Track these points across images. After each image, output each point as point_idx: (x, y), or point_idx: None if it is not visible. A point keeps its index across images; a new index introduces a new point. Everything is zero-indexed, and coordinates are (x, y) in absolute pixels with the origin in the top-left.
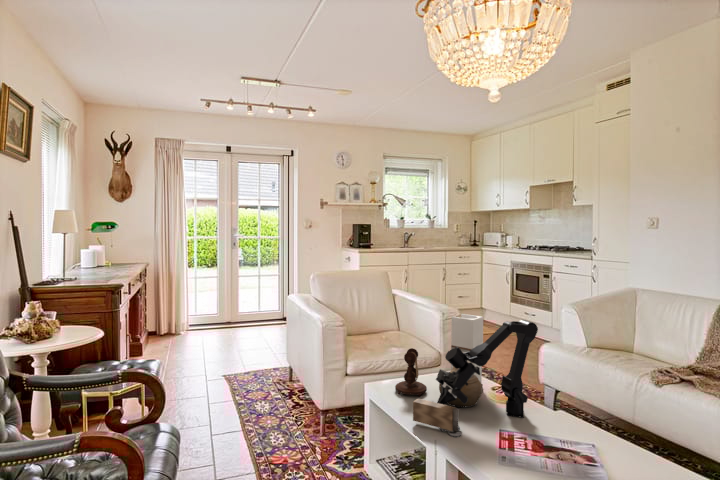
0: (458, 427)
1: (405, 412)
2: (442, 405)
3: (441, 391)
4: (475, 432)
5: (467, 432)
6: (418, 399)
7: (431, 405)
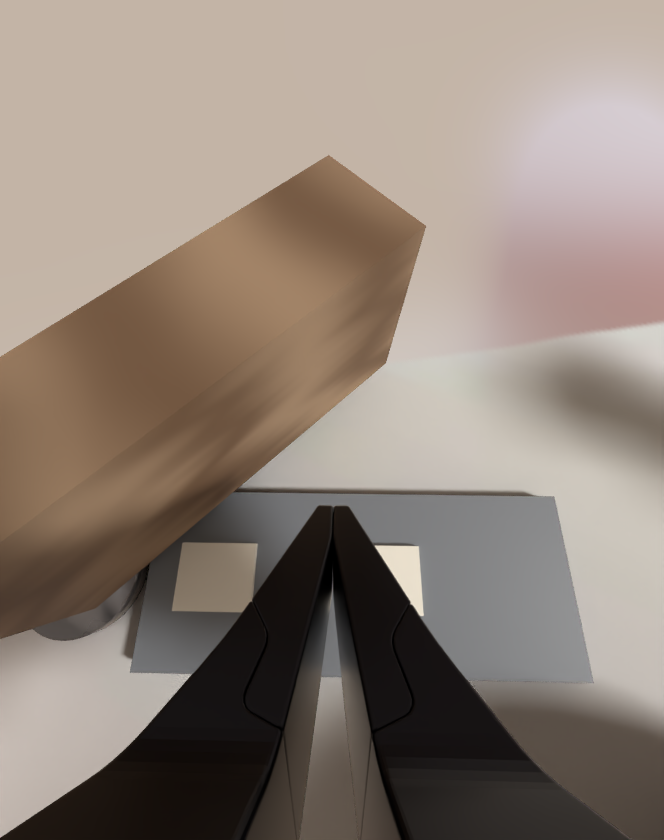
0: (135, 657)
1: (546, 354)
2: (30, 465)
3: (511, 746)
4: (22, 815)
5: (64, 715)
6: (384, 223)
7: (119, 302)
